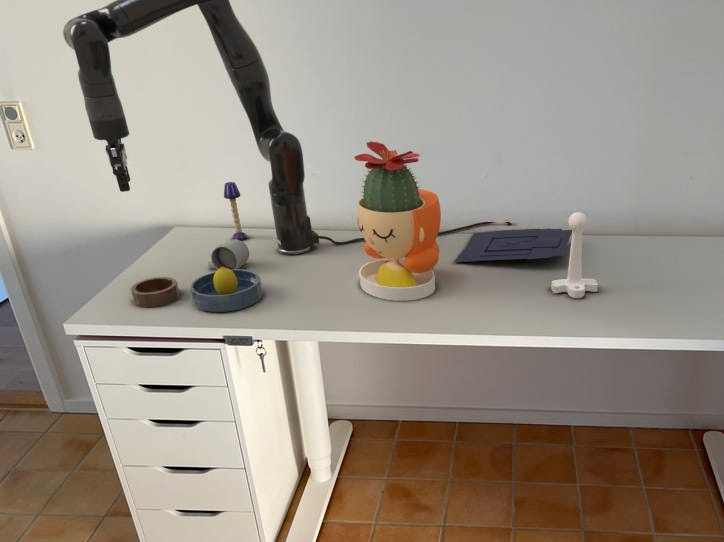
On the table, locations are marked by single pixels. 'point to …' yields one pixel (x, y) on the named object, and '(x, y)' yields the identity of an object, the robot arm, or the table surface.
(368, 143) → the potted cactus
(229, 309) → the bowl
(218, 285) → the lemon
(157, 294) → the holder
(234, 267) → the ceramic mug
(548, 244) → the dark blue flat board
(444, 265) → the table surface
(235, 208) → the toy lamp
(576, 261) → the joystick
